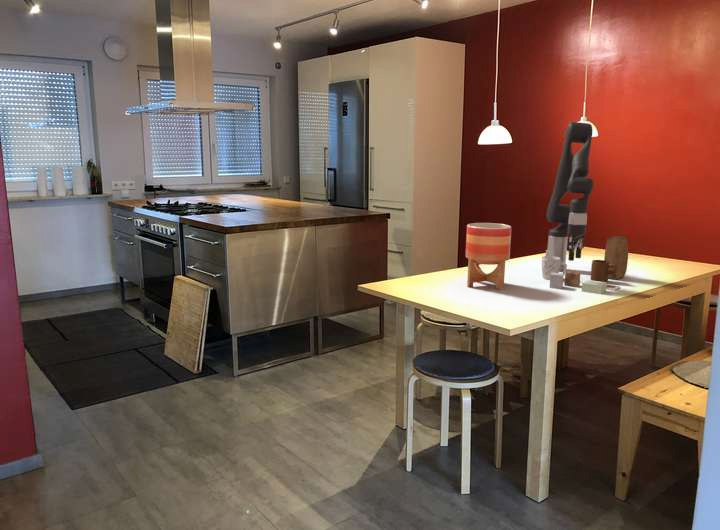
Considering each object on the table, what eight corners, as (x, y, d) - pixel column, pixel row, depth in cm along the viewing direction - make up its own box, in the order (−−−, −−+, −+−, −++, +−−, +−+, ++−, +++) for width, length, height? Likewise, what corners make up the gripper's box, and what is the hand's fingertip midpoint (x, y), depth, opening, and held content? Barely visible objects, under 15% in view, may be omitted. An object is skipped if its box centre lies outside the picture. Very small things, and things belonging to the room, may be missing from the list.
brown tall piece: (614, 280, 271) (618, 238, 267) (600, 277, 277) (604, 236, 273) (628, 278, 277) (632, 236, 273) (614, 275, 283) (618, 234, 279)
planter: (482, 292, 245) (486, 229, 240) (454, 282, 262) (457, 223, 257) (518, 287, 254) (522, 227, 249) (488, 278, 271) (491, 221, 266)
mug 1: (566, 278, 274) (568, 257, 272) (564, 281, 267) (566, 260, 265) (541, 275, 279) (543, 255, 277) (539, 279, 271) (540, 258, 270)
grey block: (549, 287, 255) (550, 274, 253) (551, 285, 259) (552, 272, 258) (561, 289, 253) (562, 275, 251) (562, 286, 257) (563, 273, 256)
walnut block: (564, 285, 259) (565, 272, 258) (568, 283, 263) (569, 271, 262) (575, 287, 256) (576, 274, 255) (579, 285, 260) (580, 272, 258)
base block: (581, 291, 249) (582, 282, 248) (586, 288, 255) (587, 279, 254) (600, 294, 244) (601, 285, 243) (605, 291, 250) (606, 282, 249)
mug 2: (620, 283, 265) (622, 263, 264) (611, 285, 261) (613, 264, 259) (595, 278, 275) (597, 259, 273) (587, 280, 270) (588, 260, 268)
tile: (598, 287, 255) (598, 285, 255) (603, 285, 260) (603, 283, 260) (614, 290, 251) (615, 288, 251) (619, 287, 256) (620, 285, 256)
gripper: (574, 221, 262) (572, 256, 265) (562, 223, 251) (560, 260, 254) (591, 222, 257) (588, 258, 260) (580, 225, 246) (577, 262, 249)
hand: (574, 259), depth 257 cm, fingers open, 8 cm apart
